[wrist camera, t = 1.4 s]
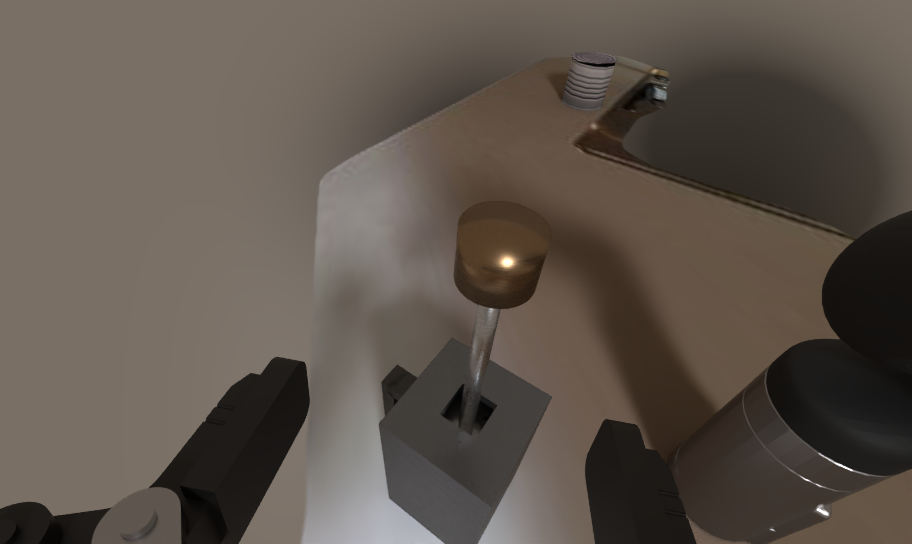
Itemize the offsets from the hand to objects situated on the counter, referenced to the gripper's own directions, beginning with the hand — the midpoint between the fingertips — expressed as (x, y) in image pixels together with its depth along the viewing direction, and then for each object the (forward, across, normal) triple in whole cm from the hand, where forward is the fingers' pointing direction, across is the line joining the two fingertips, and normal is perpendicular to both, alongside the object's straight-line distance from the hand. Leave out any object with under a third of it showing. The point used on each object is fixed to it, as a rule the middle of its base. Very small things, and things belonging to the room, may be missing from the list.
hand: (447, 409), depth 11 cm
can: (+117, -21, +8) cm, 119 cm away
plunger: (+13, -1, +18) cm, 23 cm away
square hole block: (+16, 0, +30) cm, 34 cm away
